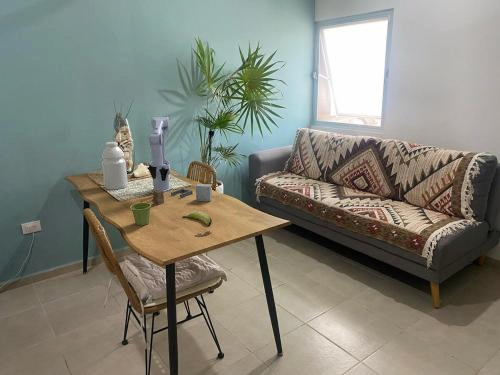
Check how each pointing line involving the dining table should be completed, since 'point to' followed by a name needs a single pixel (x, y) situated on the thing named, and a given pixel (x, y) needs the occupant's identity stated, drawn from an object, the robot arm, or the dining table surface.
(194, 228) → the dining table surface
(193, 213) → the green banana
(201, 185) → the medicine box
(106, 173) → the bottle
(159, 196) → the plug
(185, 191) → the cradle
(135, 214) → the plant pot
